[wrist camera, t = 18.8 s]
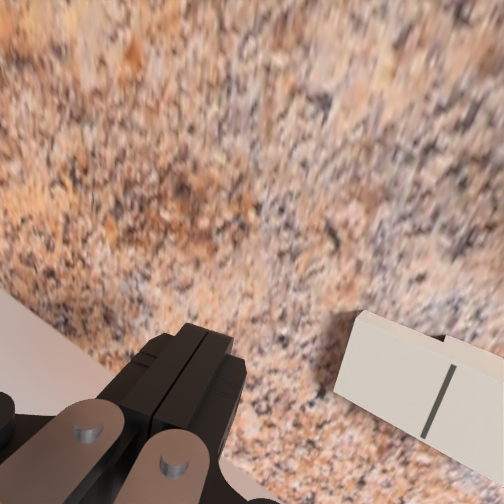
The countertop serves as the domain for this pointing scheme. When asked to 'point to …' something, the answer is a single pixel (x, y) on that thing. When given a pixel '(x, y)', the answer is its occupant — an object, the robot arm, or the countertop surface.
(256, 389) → the countertop surface
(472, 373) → the domino
